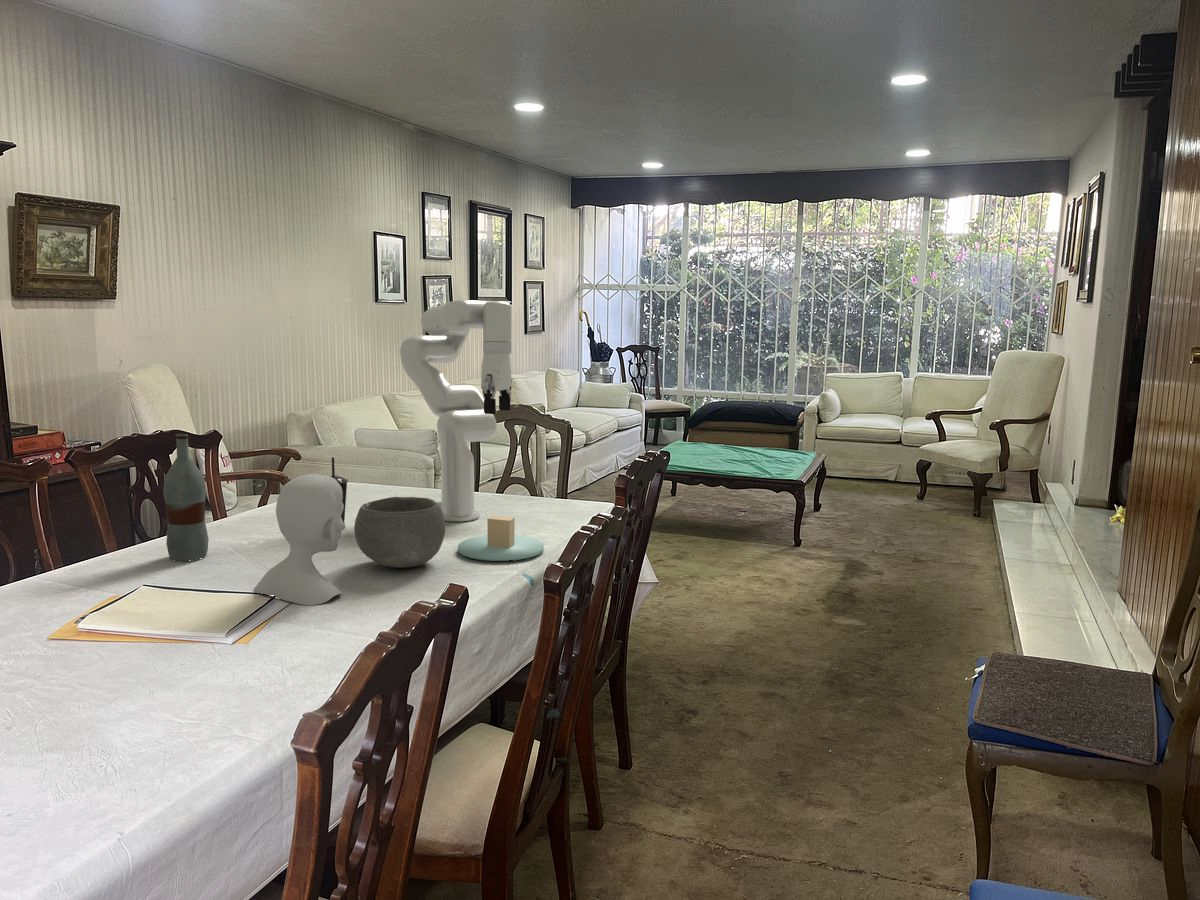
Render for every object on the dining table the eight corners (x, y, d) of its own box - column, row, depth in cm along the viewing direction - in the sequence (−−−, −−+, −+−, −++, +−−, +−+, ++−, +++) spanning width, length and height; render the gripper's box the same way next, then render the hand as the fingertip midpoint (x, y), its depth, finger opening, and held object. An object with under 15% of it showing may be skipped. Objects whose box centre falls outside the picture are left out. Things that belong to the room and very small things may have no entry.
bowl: (425, 581, 198) (424, 516, 196) (339, 574, 202) (337, 510, 200) (458, 556, 219) (458, 497, 217) (379, 551, 223) (378, 492, 221)
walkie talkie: (353, 526, 248) (351, 455, 245) (343, 532, 240) (341, 460, 237) (327, 525, 249) (325, 454, 246) (315, 531, 241) (313, 459, 238)
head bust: (380, 585, 195) (378, 473, 191) (312, 609, 179) (308, 487, 175) (312, 569, 206) (308, 463, 202) (241, 590, 190) (236, 476, 186)
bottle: (158, 559, 213) (151, 435, 208) (191, 550, 221) (185, 430, 216) (184, 564, 208) (177, 438, 204) (217, 555, 216) (211, 433, 212)
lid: (442, 555, 218) (442, 523, 216) (480, 535, 238) (480, 506, 237) (524, 564, 211) (524, 531, 210) (555, 542, 232) (556, 512, 230)
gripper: (497, 346, 246) (497, 408, 248) (470, 348, 229) (470, 414, 232) (522, 347, 244) (522, 409, 246) (496, 349, 227) (497, 416, 230)
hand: (497, 412), depth 239 cm, fingers open, 9 cm apart
